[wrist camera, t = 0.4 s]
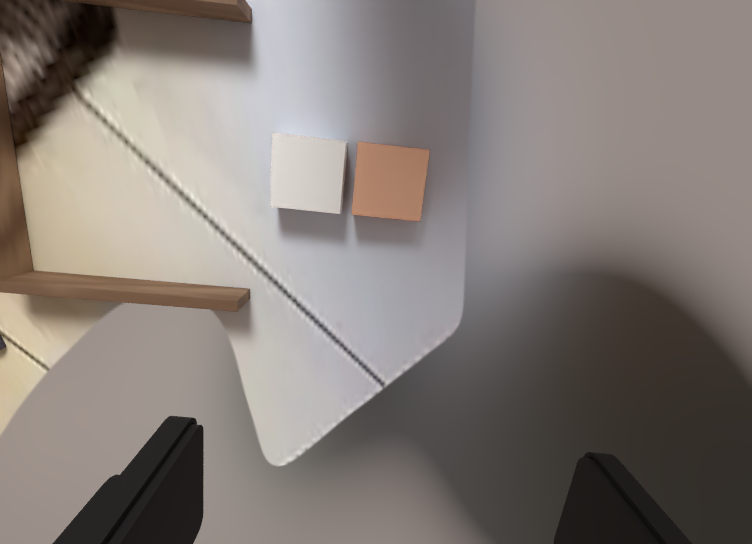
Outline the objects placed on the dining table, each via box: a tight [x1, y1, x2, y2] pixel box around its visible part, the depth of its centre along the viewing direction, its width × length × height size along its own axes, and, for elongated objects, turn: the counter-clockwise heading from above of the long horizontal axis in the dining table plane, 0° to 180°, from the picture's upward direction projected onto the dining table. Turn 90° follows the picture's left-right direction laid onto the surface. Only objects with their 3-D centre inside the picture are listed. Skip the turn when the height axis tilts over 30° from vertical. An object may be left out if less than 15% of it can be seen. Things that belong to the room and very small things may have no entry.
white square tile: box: [270, 133, 348, 214], centre depth 33 cm, size 6×6×3 cm
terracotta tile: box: [352, 142, 430, 222], centre depth 33 cm, size 6×6×3 cm
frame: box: [0, 0, 252, 312], centre depth 31 cm, size 25×22×4 cm
